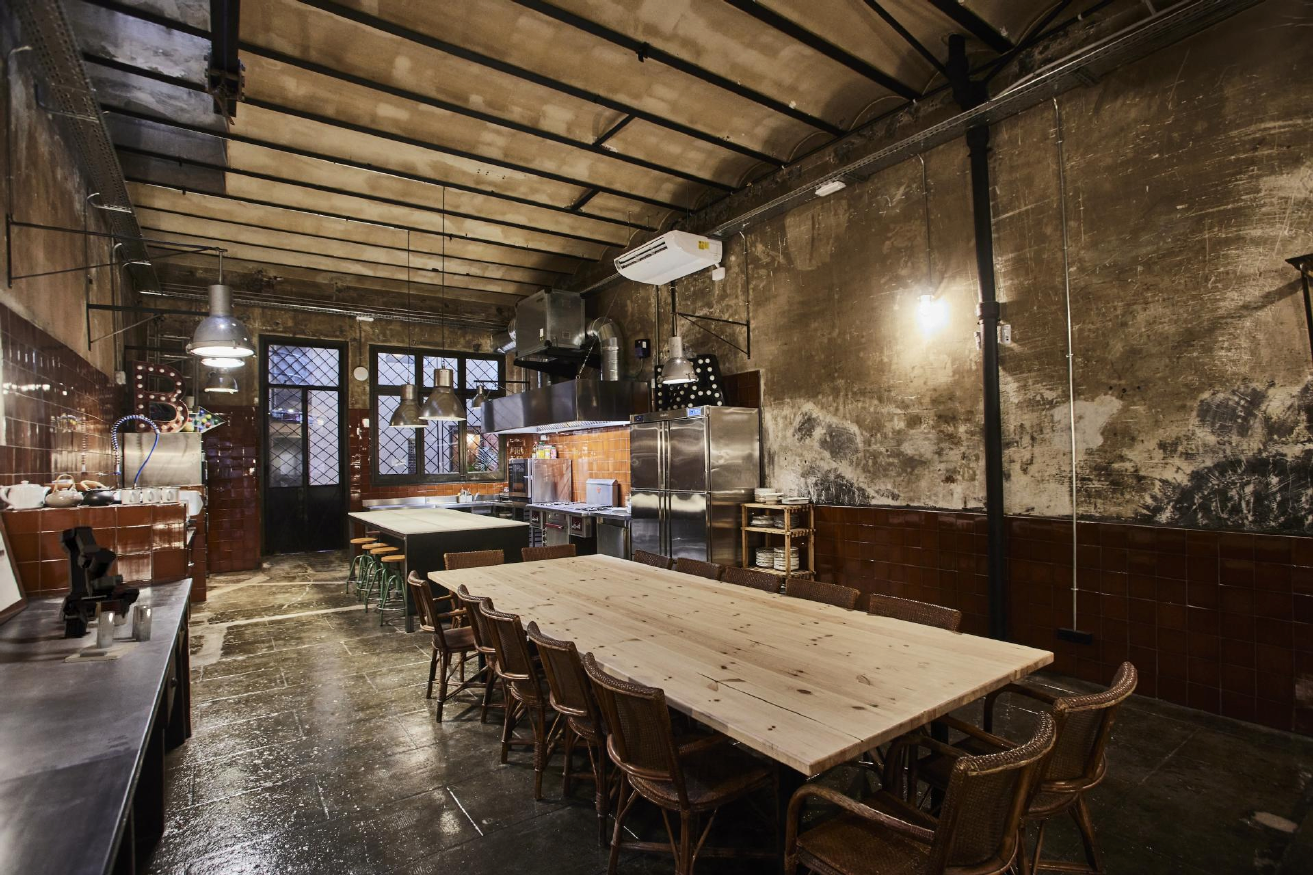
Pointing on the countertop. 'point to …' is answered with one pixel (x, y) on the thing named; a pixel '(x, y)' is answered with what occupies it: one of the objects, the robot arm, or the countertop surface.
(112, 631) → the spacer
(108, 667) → the countertop surface
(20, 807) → the countertop surface
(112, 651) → the scale
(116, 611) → the coffee cup
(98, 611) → the natural sponge
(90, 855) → the countertop surface
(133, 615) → the spacer
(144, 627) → the spacer
